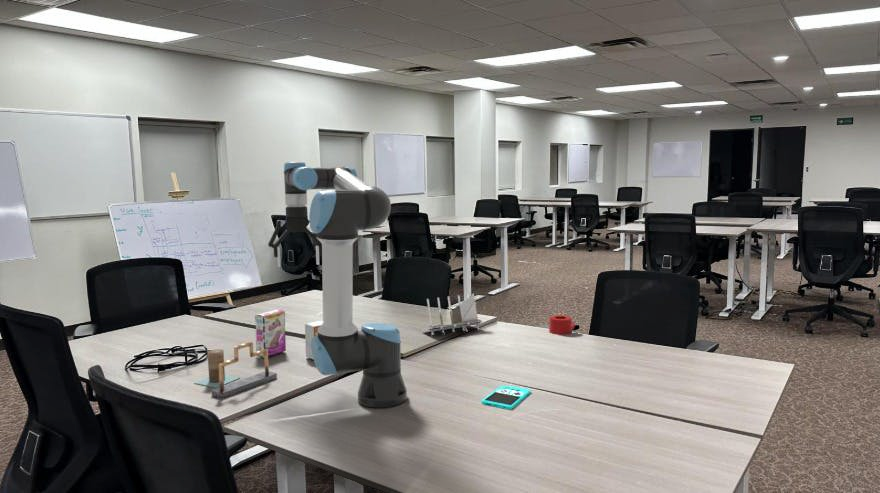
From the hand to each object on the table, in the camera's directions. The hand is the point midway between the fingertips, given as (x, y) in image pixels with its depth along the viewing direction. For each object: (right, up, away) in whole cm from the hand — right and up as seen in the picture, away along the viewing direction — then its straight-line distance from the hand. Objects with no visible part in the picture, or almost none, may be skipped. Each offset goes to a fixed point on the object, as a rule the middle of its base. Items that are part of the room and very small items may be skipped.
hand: (298, 265), depth 211 cm
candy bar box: (-15, -35, +18) cm, 42 cm away
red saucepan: (+106, -31, +49) cm, 120 cm away
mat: (-24, -39, -12) cm, 47 cm away
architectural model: (+58, -31, +46) cm, 80 cm away
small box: (+4, -36, +14) cm, 38 cm away
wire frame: (-13, -39, -18) cm, 45 cm away
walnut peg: (-25, -38, -12) cm, 47 cm away
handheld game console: (+71, -40, -29) cm, 87 cm away
